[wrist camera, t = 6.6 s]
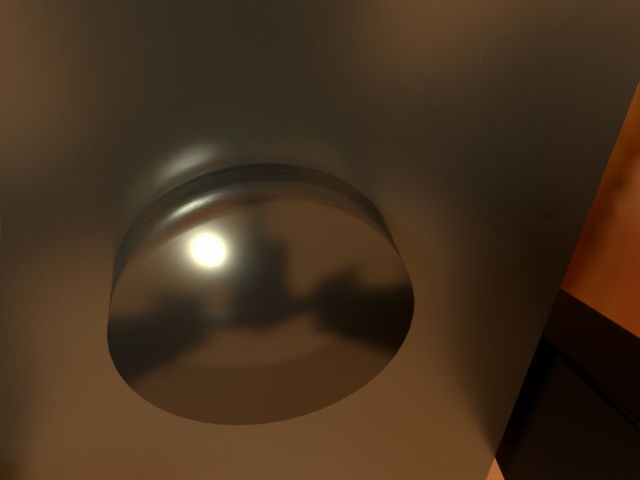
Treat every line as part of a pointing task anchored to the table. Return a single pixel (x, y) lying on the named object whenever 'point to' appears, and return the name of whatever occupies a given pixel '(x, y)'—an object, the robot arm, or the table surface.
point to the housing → (289, 228)
